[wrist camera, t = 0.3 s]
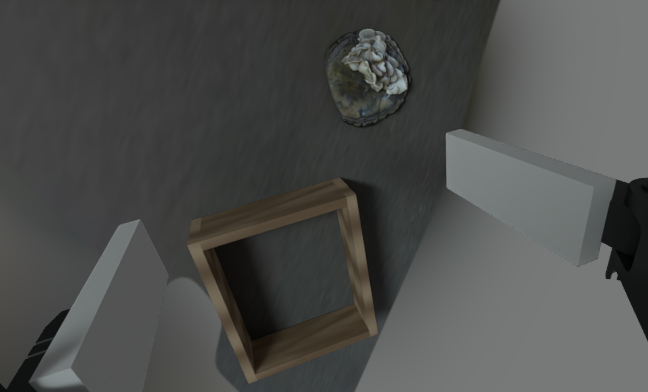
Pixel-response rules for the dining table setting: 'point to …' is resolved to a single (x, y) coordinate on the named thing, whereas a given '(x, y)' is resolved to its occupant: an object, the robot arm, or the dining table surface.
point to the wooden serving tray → (306, 336)
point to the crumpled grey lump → (366, 76)
